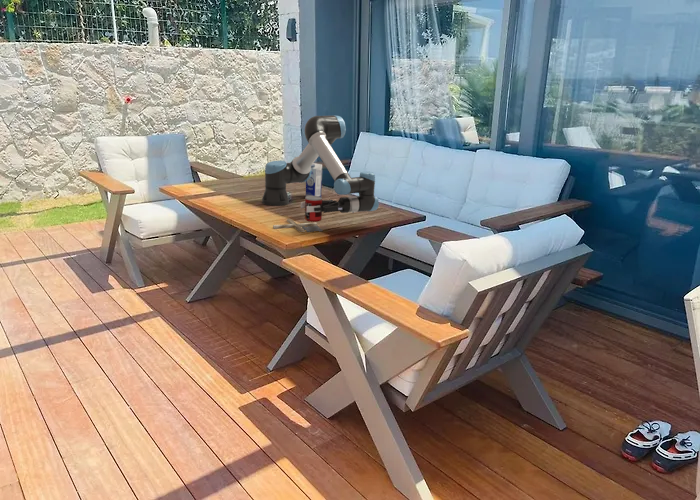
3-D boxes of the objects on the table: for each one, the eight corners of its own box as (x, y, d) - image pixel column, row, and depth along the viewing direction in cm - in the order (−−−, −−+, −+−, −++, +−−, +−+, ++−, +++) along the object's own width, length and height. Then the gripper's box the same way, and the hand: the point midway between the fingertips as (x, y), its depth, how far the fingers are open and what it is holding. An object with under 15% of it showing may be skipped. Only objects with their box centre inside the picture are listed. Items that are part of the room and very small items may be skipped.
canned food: (304, 217, 263) (305, 195, 260) (321, 218, 264) (321, 195, 261) (304, 221, 256) (305, 199, 253) (321, 222, 257) (322, 199, 253)
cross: (280, 234, 251) (280, 232, 251) (267, 222, 270) (267, 219, 270) (324, 231, 260) (324, 228, 259) (309, 219, 279) (309, 217, 278)
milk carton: (321, 197, 329) (322, 164, 323) (314, 198, 324) (315, 165, 318) (312, 195, 333) (313, 162, 327) (305, 196, 328) (306, 163, 322)
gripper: (356, 217, 257) (311, 220, 248) (339, 207, 275) (296, 209, 266) (357, 201, 255) (311, 204, 246) (340, 192, 273) (297, 194, 264)
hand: (303, 207), depth 256 cm, fingers closed on canned food, 8 cm apart
